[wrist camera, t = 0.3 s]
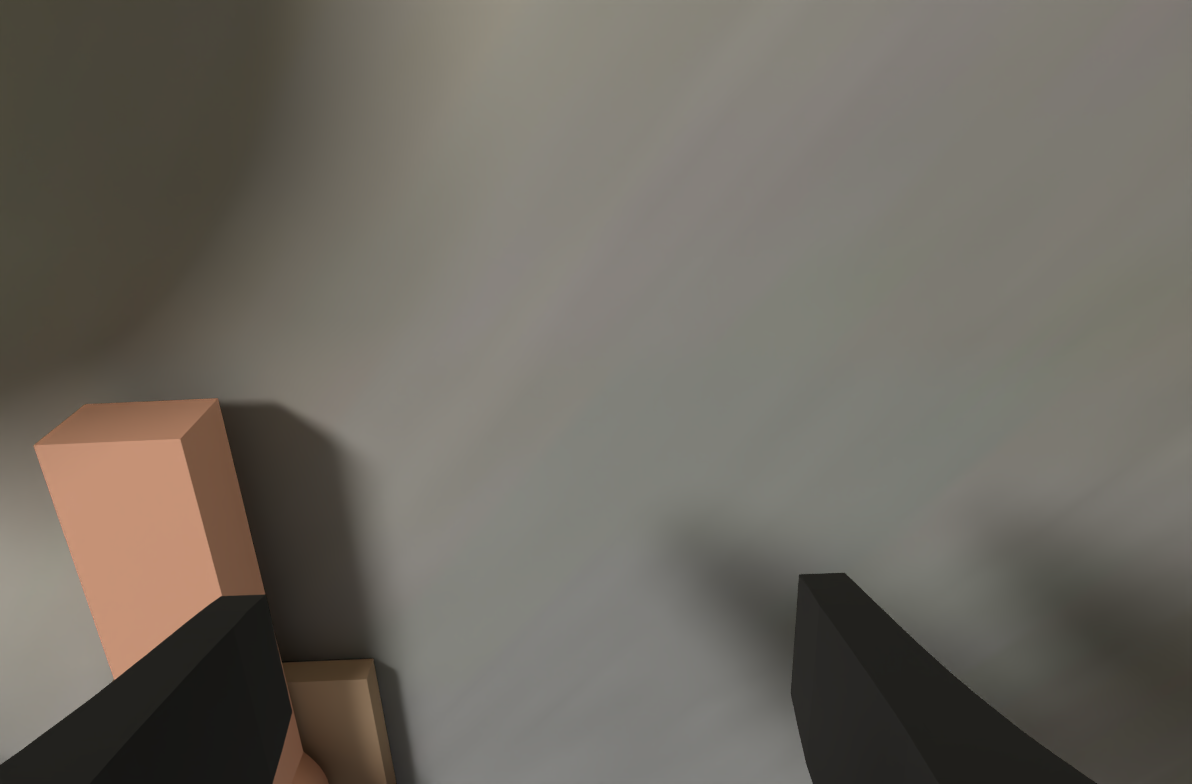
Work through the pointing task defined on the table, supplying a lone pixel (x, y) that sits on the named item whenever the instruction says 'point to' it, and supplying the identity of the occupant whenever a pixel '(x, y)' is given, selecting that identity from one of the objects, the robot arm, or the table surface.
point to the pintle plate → (341, 719)
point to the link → (155, 527)
